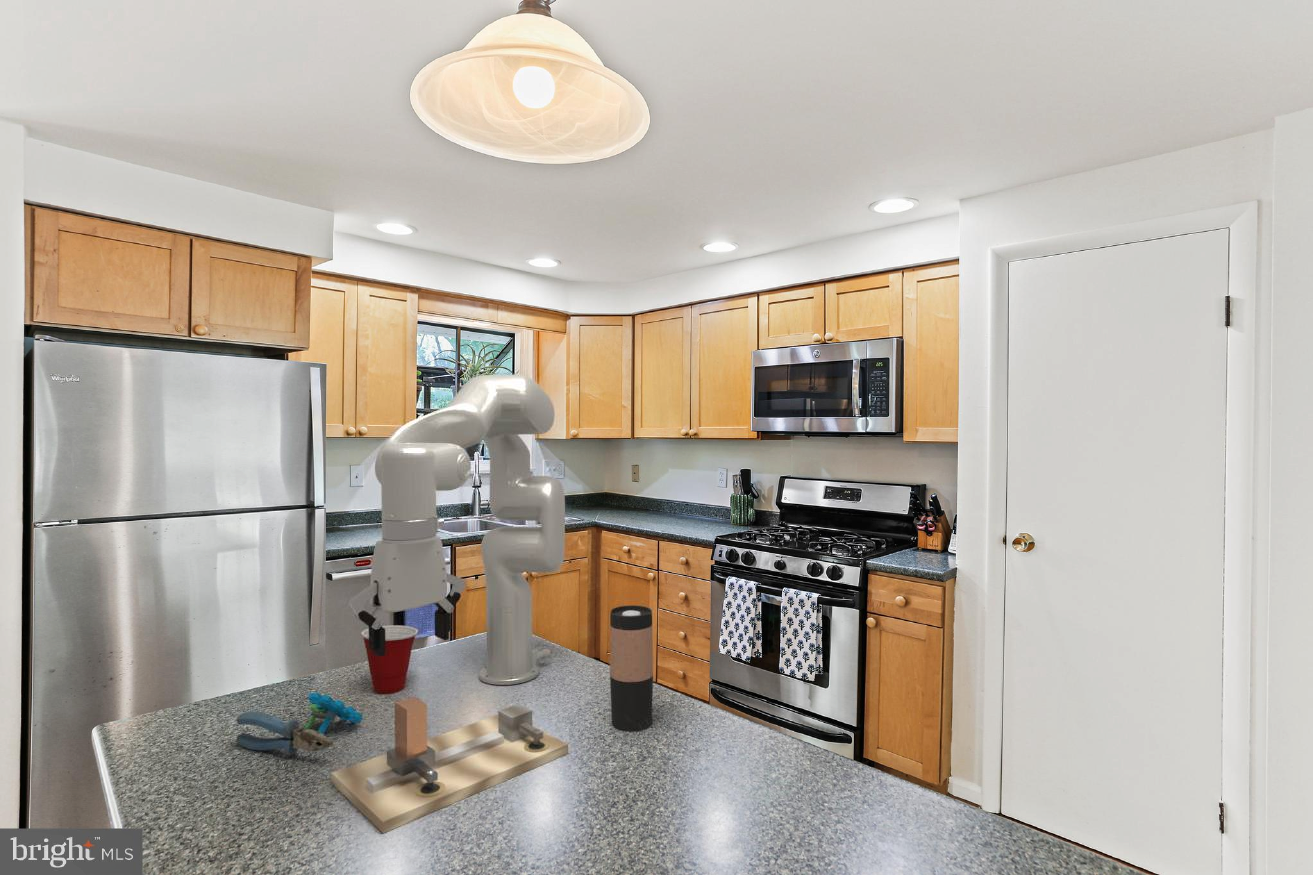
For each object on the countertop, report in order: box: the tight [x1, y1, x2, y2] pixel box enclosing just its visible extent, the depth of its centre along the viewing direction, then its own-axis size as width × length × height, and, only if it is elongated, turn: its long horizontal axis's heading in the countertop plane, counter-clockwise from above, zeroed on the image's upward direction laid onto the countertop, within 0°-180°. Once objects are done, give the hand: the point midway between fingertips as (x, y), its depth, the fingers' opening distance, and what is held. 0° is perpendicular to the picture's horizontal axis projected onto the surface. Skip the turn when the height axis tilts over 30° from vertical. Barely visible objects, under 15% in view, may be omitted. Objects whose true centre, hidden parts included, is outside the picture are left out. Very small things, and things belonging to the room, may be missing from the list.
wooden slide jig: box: [330, 703, 569, 834], centre depth 103 cm, size 30×18×6 cm, turn 135°
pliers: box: [235, 711, 334, 756], centre depth 108 cm, size 20×2×6 cm, turn 69°
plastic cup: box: [360, 624, 419, 695], centre depth 135 cm, size 11×11×12 cm
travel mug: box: [609, 604, 654, 732], centre depth 119 cm, size 8×8×20 cm
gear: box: [303, 691, 363, 735], centre depth 116 cm, size 11×6×10 cm
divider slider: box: [386, 696, 438, 787], centre depth 96 cm, size 5×10×10 cm, turn 45°
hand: (411, 645), depth 98 cm, fingers open, 9 cm apart
